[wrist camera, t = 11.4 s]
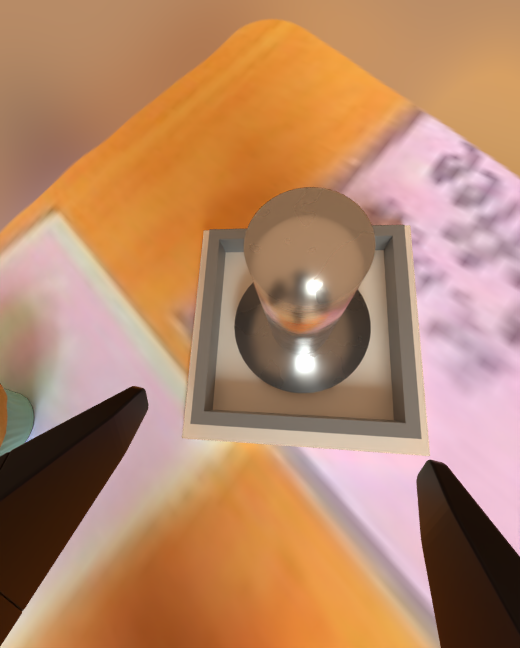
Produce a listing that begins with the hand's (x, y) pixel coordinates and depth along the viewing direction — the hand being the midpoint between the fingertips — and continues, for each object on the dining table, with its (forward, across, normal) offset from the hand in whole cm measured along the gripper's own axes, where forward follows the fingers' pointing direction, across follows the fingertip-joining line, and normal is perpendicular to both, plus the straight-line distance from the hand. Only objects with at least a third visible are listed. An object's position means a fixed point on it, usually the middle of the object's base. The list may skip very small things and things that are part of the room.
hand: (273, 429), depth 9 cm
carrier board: (+12, 0, +4) cm, 13 cm away
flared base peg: (+12, 0, +3) cm, 12 cm away
